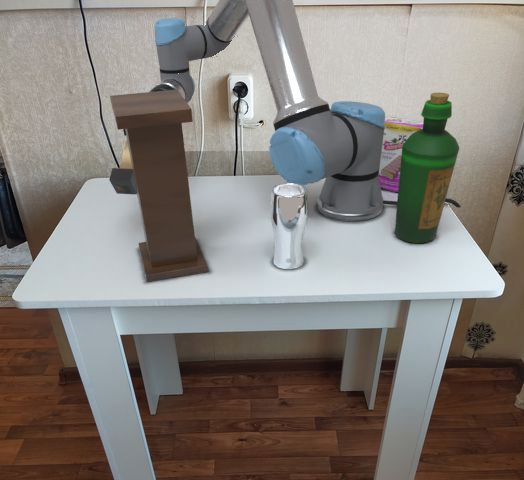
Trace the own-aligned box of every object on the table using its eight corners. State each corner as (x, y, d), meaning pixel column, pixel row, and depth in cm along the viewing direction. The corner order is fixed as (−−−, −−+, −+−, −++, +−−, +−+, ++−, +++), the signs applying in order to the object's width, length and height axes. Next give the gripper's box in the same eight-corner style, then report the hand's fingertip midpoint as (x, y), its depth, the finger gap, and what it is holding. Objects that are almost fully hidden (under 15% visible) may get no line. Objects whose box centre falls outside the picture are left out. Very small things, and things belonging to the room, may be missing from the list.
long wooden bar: (137, 112, 116) (131, 96, 112) (156, 113, 115) (151, 97, 111) (116, 193, 108) (109, 179, 104) (136, 194, 107) (129, 180, 103)
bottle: (441, 249, 106) (473, 103, 89) (389, 245, 108) (410, 101, 91) (438, 226, 114) (467, 88, 97) (389, 223, 116) (409, 87, 99)
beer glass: (264, 262, 104) (262, 190, 94) (286, 250, 108) (287, 179, 98) (290, 274, 100) (291, 200, 90) (312, 261, 104) (316, 188, 94)
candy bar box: (369, 188, 132) (377, 120, 122) (377, 181, 136) (385, 115, 125) (411, 196, 127) (423, 127, 117) (418, 189, 131) (430, 121, 120)
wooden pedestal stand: (139, 249, 109) (109, 95, 91) (195, 240, 112) (177, 89, 93) (147, 282, 99) (115, 116, 80) (208, 271, 101) (191, 108, 83)
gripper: (199, 117, 128) (172, 148, 110) (137, 115, 130) (100, 146, 112) (196, 83, 123) (167, 111, 105) (131, 83, 125) (93, 109, 107)
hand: (133, 129), depth 108 cm, fingers closed on long wooden bar, 3 cm apart
